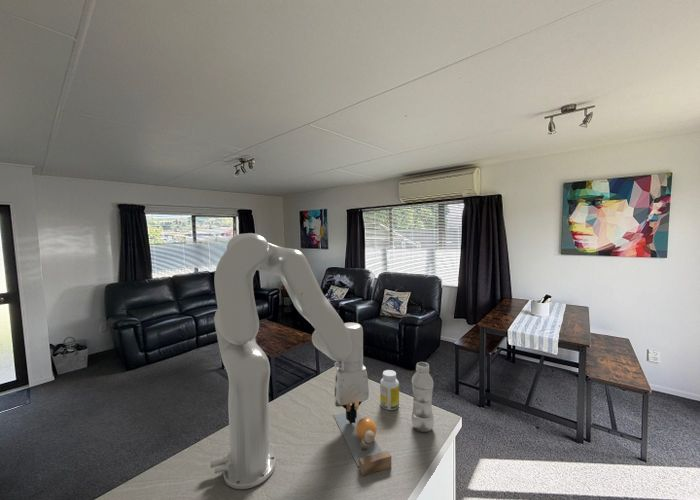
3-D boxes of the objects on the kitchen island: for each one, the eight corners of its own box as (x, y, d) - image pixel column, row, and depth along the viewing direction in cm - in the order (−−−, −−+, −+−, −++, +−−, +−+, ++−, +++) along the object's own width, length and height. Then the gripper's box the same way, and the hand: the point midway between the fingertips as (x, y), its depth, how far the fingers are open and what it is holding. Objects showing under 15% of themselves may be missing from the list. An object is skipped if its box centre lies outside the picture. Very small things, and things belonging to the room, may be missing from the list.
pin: (361, 452, 78) (367, 442, 73) (358, 441, 80) (364, 431, 75) (369, 449, 79) (376, 439, 74) (366, 439, 81) (372, 428, 75)
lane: (357, 466, 73) (357, 466, 73) (333, 416, 94) (333, 415, 94) (386, 458, 76) (386, 457, 76) (356, 410, 97) (356, 410, 97)
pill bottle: (401, 403, 101) (402, 371, 100) (394, 413, 95) (394, 379, 95) (385, 398, 104) (385, 367, 103) (377, 407, 99) (377, 374, 98)
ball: (354, 415, 83) (350, 433, 84) (367, 430, 78) (362, 449, 79) (370, 410, 87) (365, 428, 87) (382, 424, 82) (378, 443, 83)
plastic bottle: (434, 436, 84) (435, 370, 83) (411, 433, 85) (411, 368, 84) (432, 422, 90) (433, 360, 89) (411, 420, 92) (411, 359, 91)
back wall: (362, 476, 70) (362, 464, 70) (359, 470, 72) (359, 458, 72) (391, 467, 73) (391, 455, 73) (387, 461, 75) (387, 450, 75)
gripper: (331, 373, 83) (331, 434, 83) (378, 364, 88) (378, 422, 88) (324, 362, 90) (325, 418, 91) (368, 355, 95) (368, 409, 96)
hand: (351, 420), depth 90 cm, fingers closed
